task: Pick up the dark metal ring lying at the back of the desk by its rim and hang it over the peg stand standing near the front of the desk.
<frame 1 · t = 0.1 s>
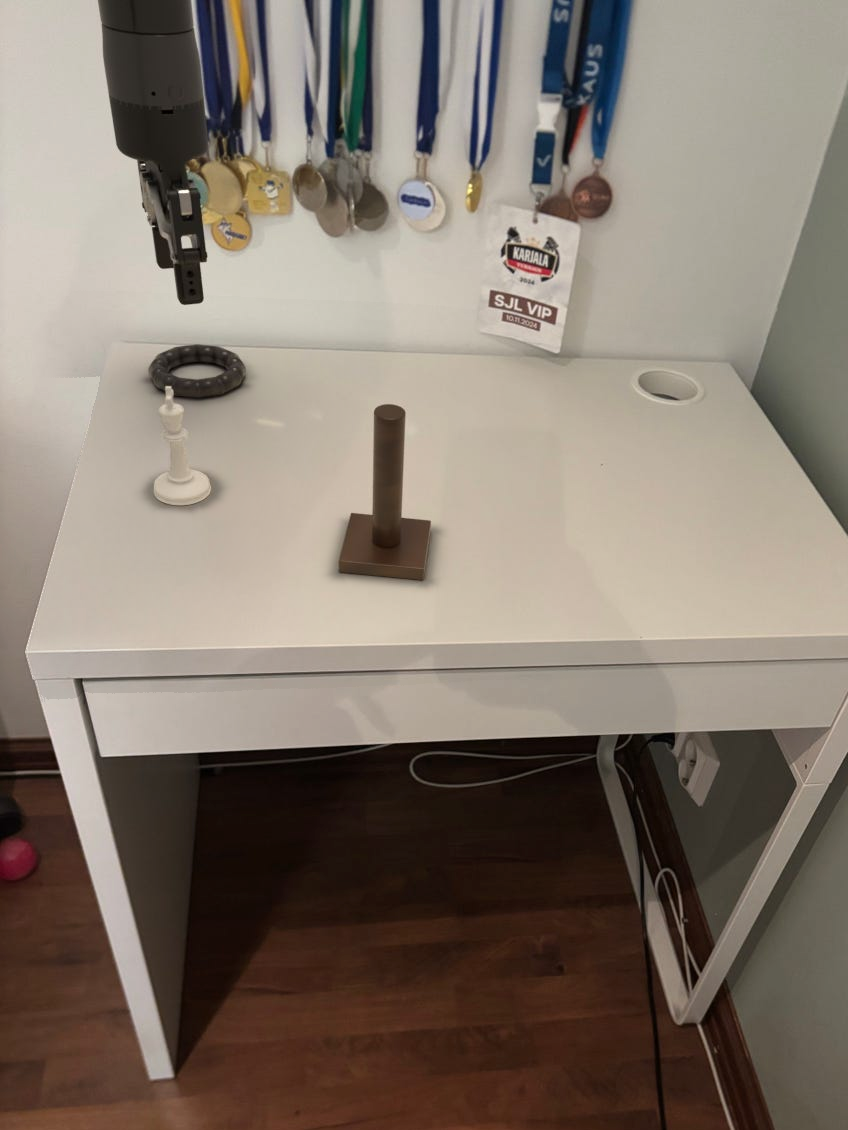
hand: (180, 284, 89), 12 cm above the table, tool pointing down, fingers open, 8 cm apart
chess piece: (182, 492, 85), on the table
peg stand: (386, 551, 81), on the table
ring: (197, 370, 100), point 1 cm above the table
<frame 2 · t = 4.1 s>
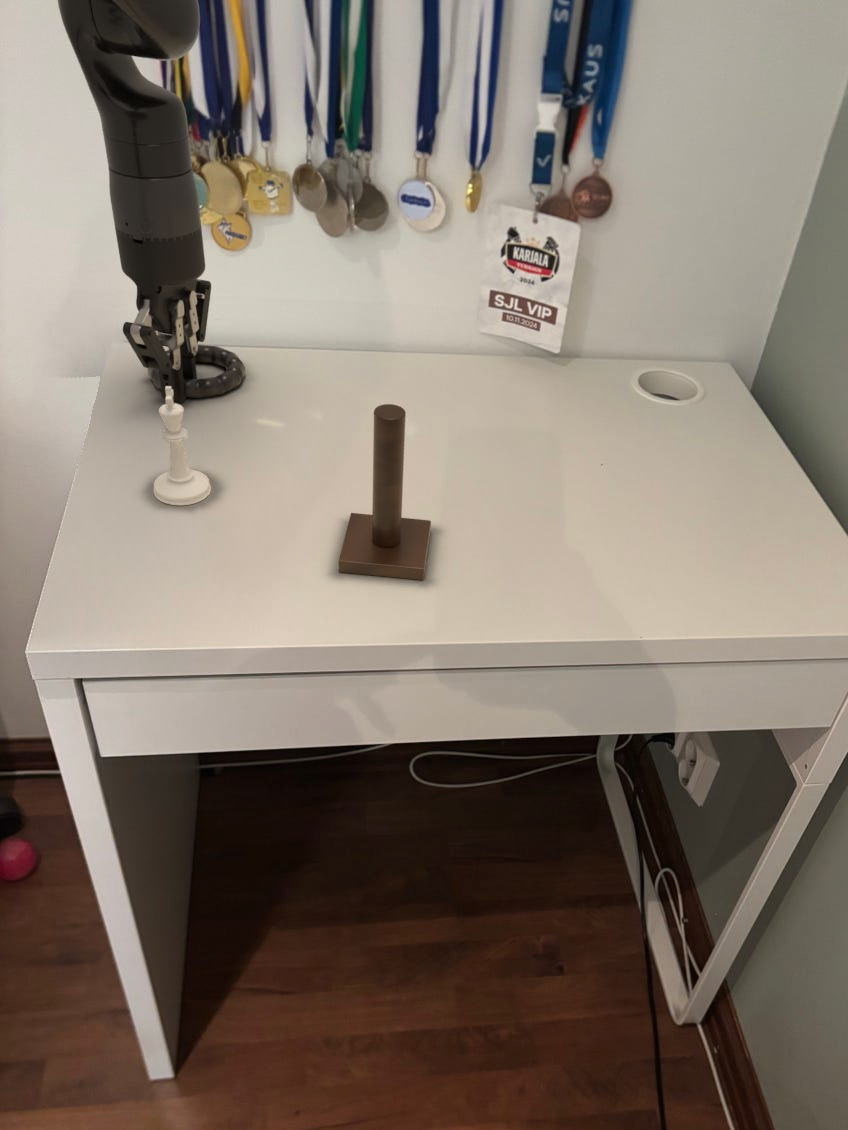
hand: (180, 393, 98), 0 cm above the table, tool pointing down, fingers closed on ring, 2 cm apart
ring: (197, 370, 100), point 1 cm above the table, touching gripper
everything else where it was.
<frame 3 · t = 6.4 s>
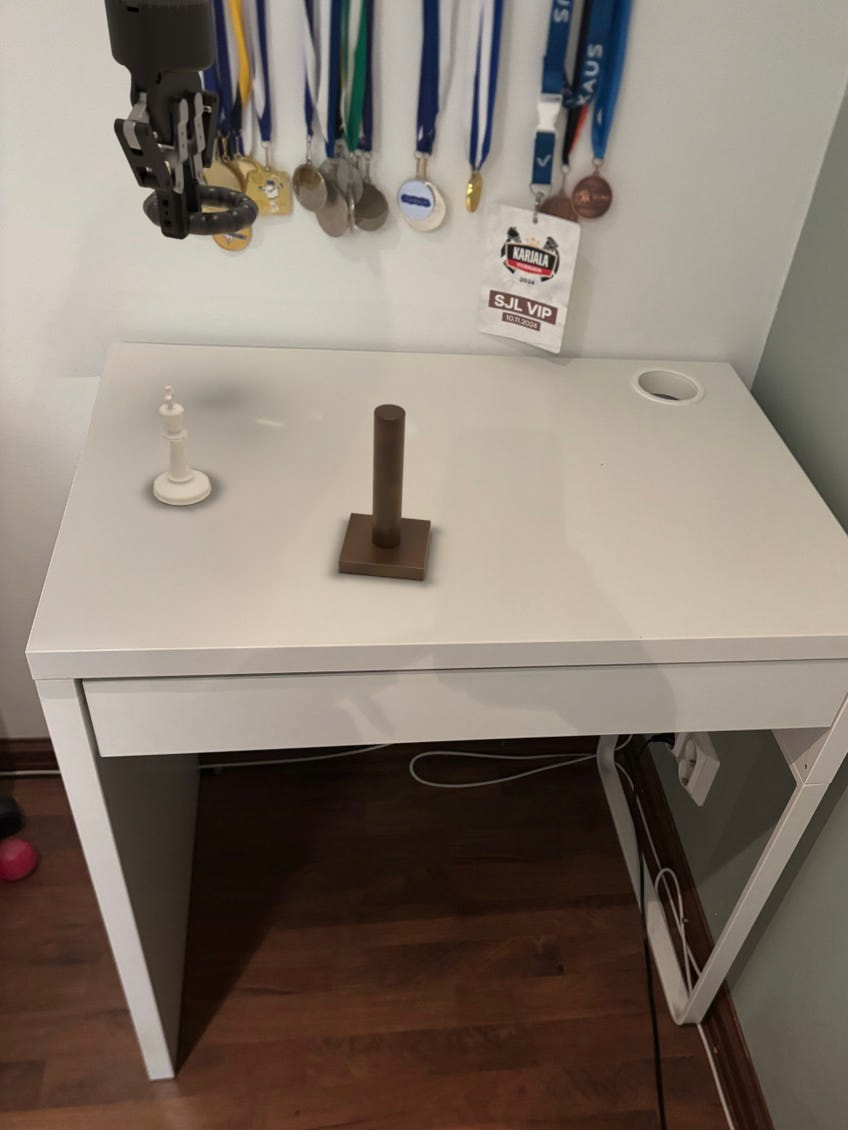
hand: (182, 231, 82), 18 cm above the table, tool pointing down, fingers closed on ring
ring: (201, 209, 84), point 19 cm above the table, touching gripper
everything else where it was.
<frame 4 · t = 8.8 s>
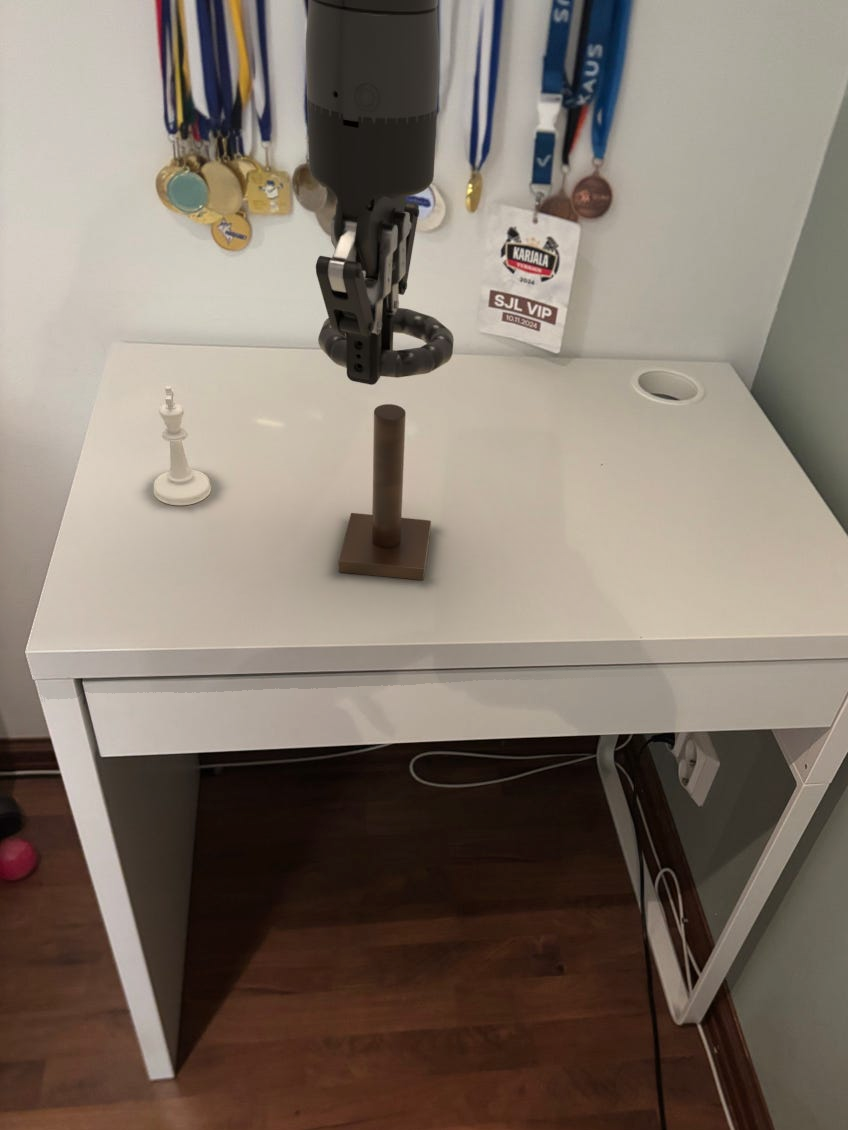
hand: (369, 371, 67), 18 cm above the table, tool pointing down, fingers closed on ring
ring: (387, 340, 69), point 19 cm above the table, touching gripper
everything else where it was.
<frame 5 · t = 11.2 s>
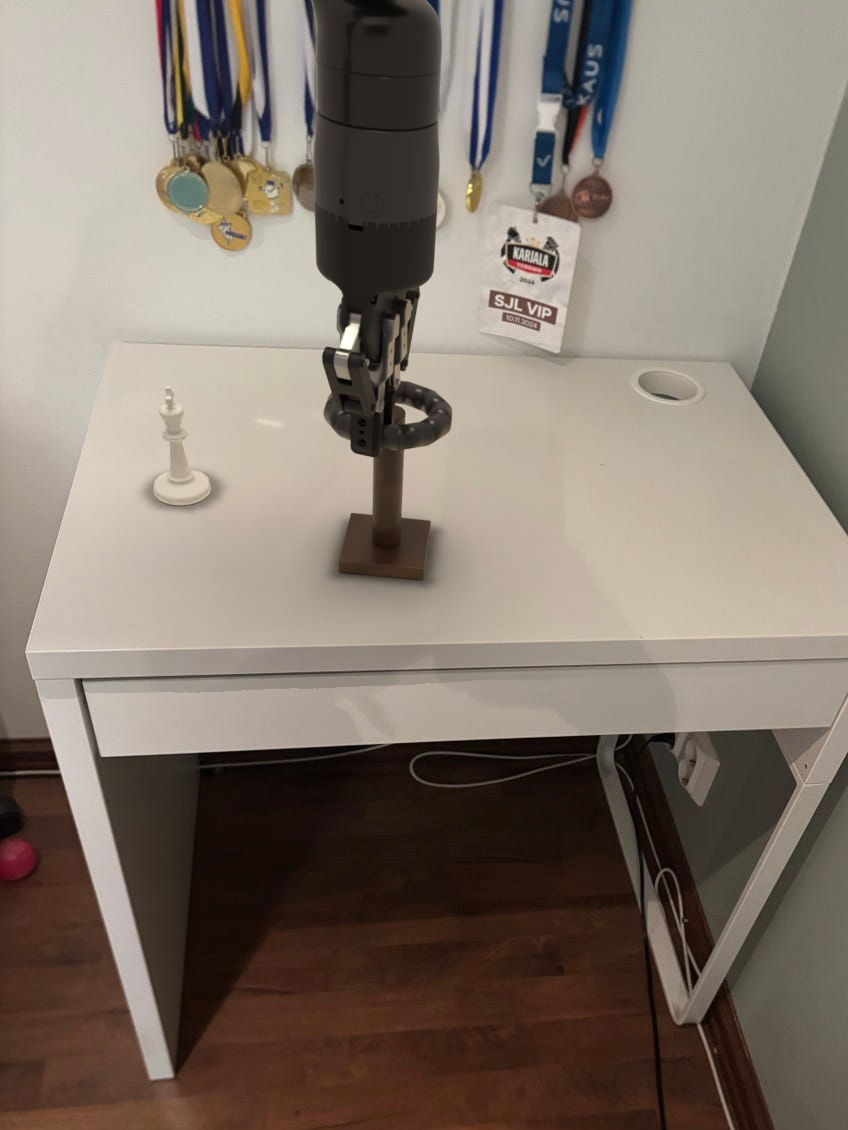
hand: (372, 443, 70), 13 cm above the table, tool pointing down, fingers closed on ring
ring: (388, 413, 72), point 13 cm above the table, touching gripper
everything else where it was.
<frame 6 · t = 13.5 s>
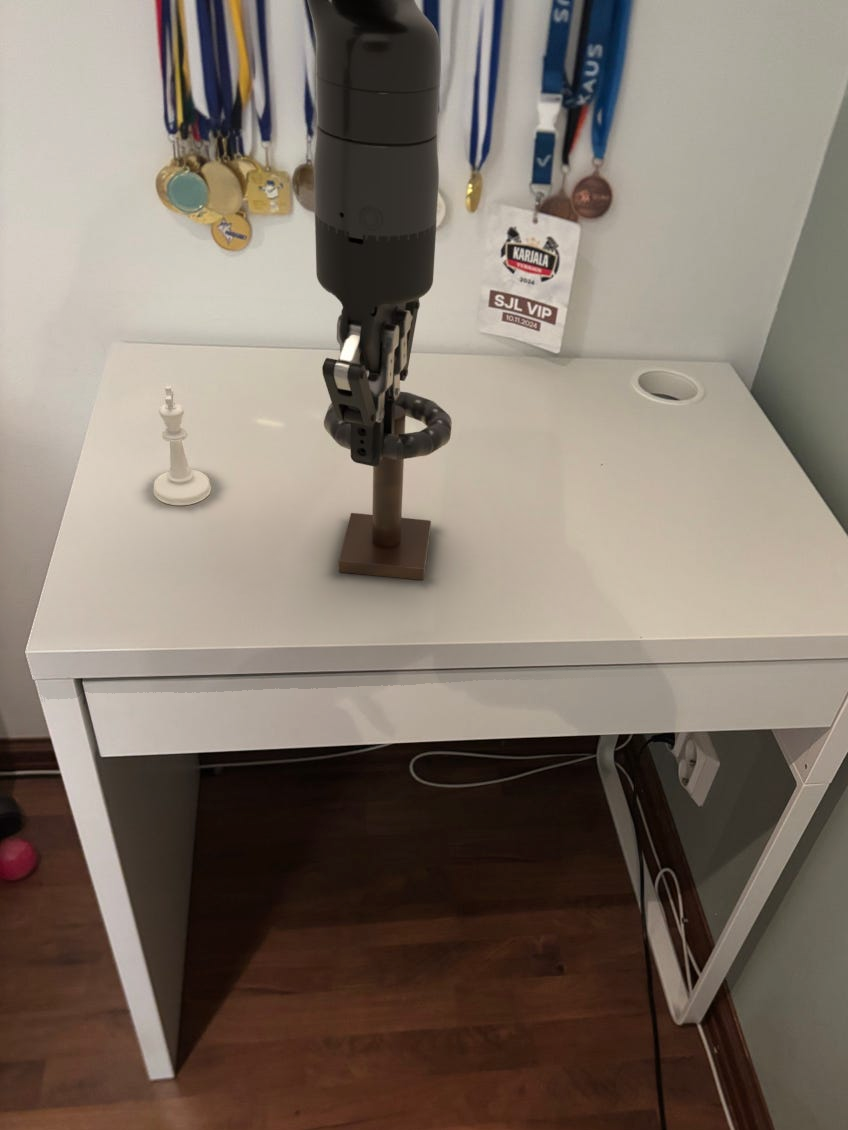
hand: (372, 452, 70), 12 cm above the table, tool pointing down, fingers closed on ring
ring: (388, 423, 73), point 12 cm above the table, touching gripper
everything else where it was.
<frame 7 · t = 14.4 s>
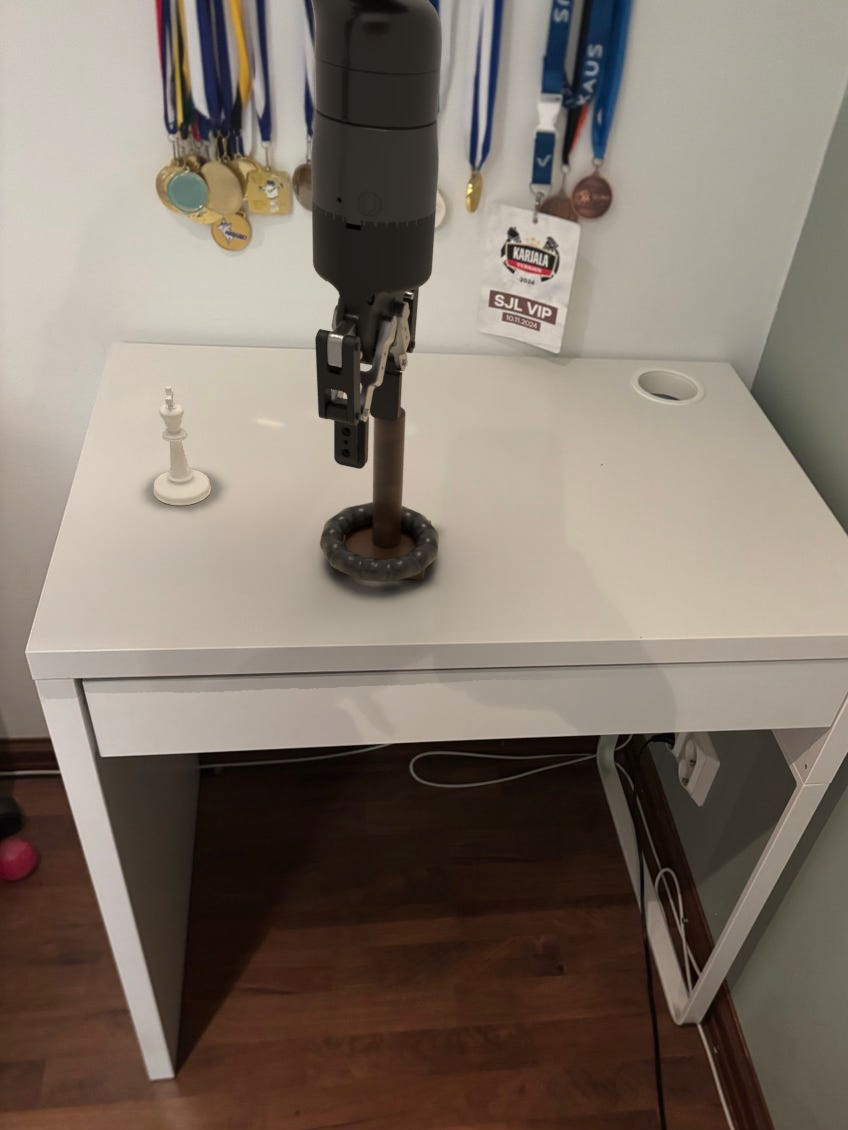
hand: (368, 439, 69), 13 cm above the table, tool pointing down, fingers open, 6 cm apart
ring: (380, 540, 79), point 2 cm above the table, touching peg stand
everything else where it was.
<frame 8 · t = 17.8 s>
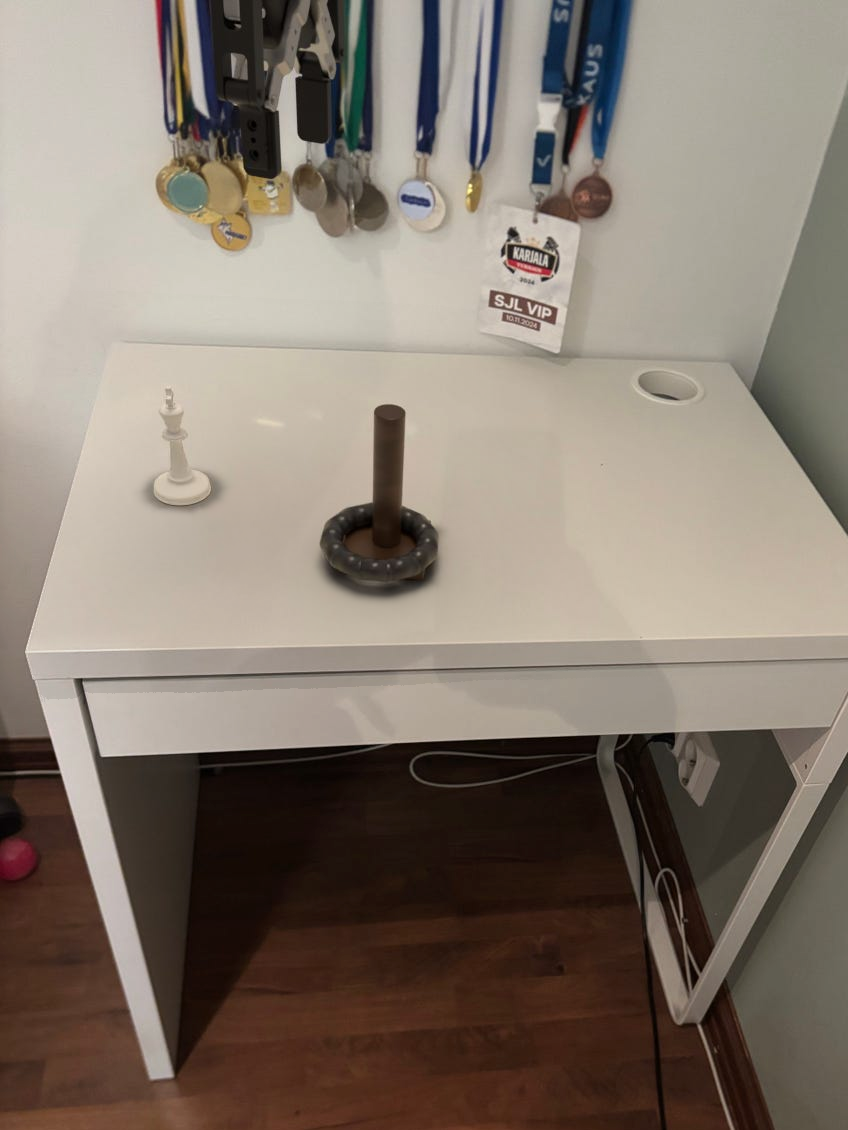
hand: (290, 157, 62), 30 cm above the table, tool pointing down, fingers open, 8 cm apart
nothing on the table moved.
at the end: ring 1.5 cm off-centre on the peg stand, point 2.1 cm above the peg stand's base; the gripper is holding nothing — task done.
